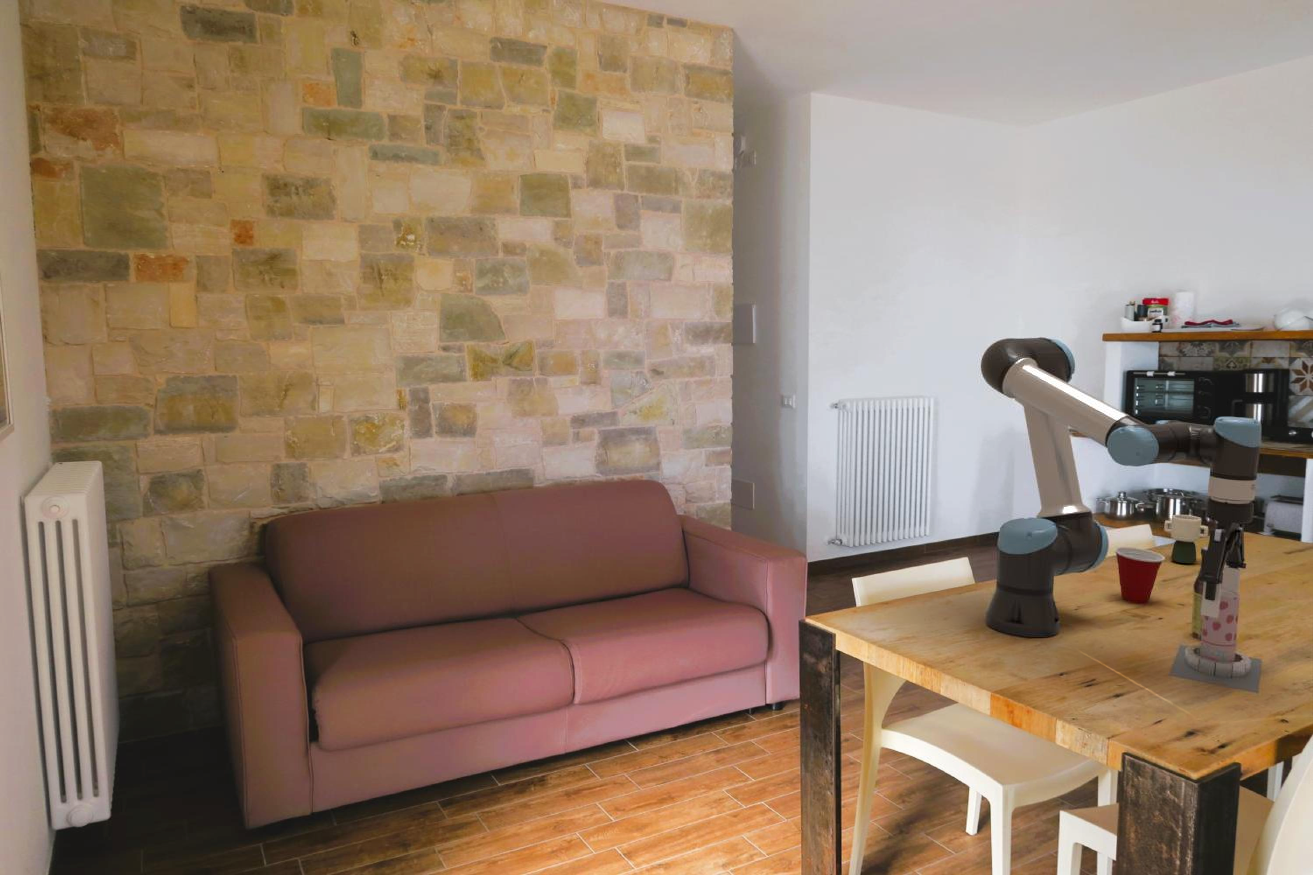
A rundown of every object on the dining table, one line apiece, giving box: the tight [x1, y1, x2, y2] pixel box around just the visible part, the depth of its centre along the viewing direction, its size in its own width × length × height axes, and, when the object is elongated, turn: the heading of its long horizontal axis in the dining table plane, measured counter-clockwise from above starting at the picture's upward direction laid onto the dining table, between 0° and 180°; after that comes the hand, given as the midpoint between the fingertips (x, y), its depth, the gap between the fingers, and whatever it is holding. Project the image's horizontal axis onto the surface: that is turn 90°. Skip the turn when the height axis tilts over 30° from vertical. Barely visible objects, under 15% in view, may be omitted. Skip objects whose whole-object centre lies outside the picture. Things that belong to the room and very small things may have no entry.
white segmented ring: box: [1185, 644, 1251, 678], centre depth 173 cm, size 10×10×2 cm
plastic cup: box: [1114, 546, 1166, 604], centre depth 216 cm, size 11×11×12 cm
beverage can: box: [1200, 588, 1240, 663], centre depth 172 cm, size 6×6×15 cm
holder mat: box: [1169, 644, 1263, 694], centre depth 173 cm, size 20×14×1 cm
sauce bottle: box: [1191, 545, 1223, 641], centre depth 188 cm, size 7×6×20 cm
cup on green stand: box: [1163, 514, 1209, 564], centre depth 250 cm, size 11×7×13 cm, turn 44°
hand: (1219, 607), depth 172 cm, fingers open, 13 cm apart
